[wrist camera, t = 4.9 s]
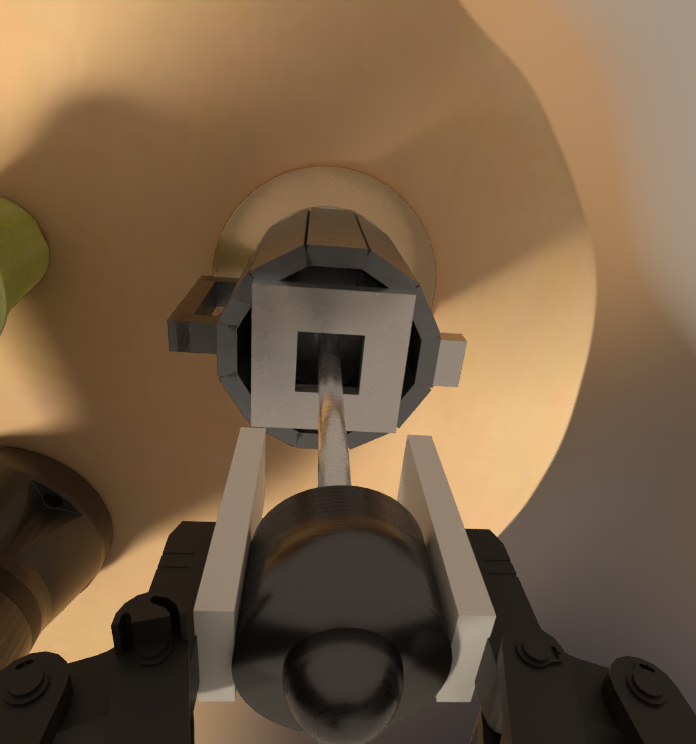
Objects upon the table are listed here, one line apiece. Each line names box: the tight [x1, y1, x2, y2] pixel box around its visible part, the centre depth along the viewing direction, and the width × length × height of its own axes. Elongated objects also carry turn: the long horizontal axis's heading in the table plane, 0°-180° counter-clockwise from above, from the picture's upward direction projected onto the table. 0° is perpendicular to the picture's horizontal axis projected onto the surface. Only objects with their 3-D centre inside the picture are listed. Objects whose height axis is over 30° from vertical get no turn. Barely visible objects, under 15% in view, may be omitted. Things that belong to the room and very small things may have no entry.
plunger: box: [231, 266, 452, 744], centre depth 19 cm, size 7×7×21 cm
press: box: [167, 166, 467, 449], centre depth 29 cm, size 15×15×13 cm
